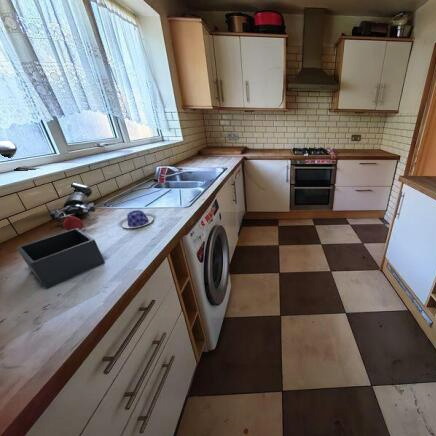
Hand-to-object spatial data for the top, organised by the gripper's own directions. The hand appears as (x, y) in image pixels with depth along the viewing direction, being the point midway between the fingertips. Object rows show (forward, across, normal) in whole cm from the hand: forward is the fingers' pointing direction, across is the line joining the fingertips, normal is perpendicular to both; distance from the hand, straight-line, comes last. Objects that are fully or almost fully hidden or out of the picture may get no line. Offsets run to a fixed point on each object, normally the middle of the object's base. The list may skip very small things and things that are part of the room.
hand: (71, 216), depth 94 cm
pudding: (+8, -22, -6) cm, 24 cm away
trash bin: (+31, 0, -6) cm, 32 cm away
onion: (+3, 0, -6) cm, 7 cm away
